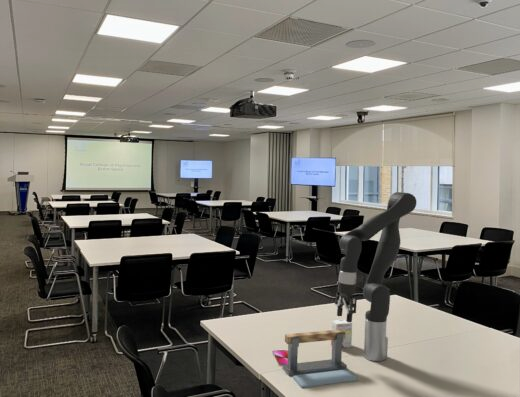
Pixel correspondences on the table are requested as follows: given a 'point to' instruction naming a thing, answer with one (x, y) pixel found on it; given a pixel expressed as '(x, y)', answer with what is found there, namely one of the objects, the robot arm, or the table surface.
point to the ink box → (347, 328)
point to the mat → (324, 378)
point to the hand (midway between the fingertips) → (344, 318)
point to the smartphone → (281, 357)
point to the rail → (314, 336)
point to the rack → (314, 366)
